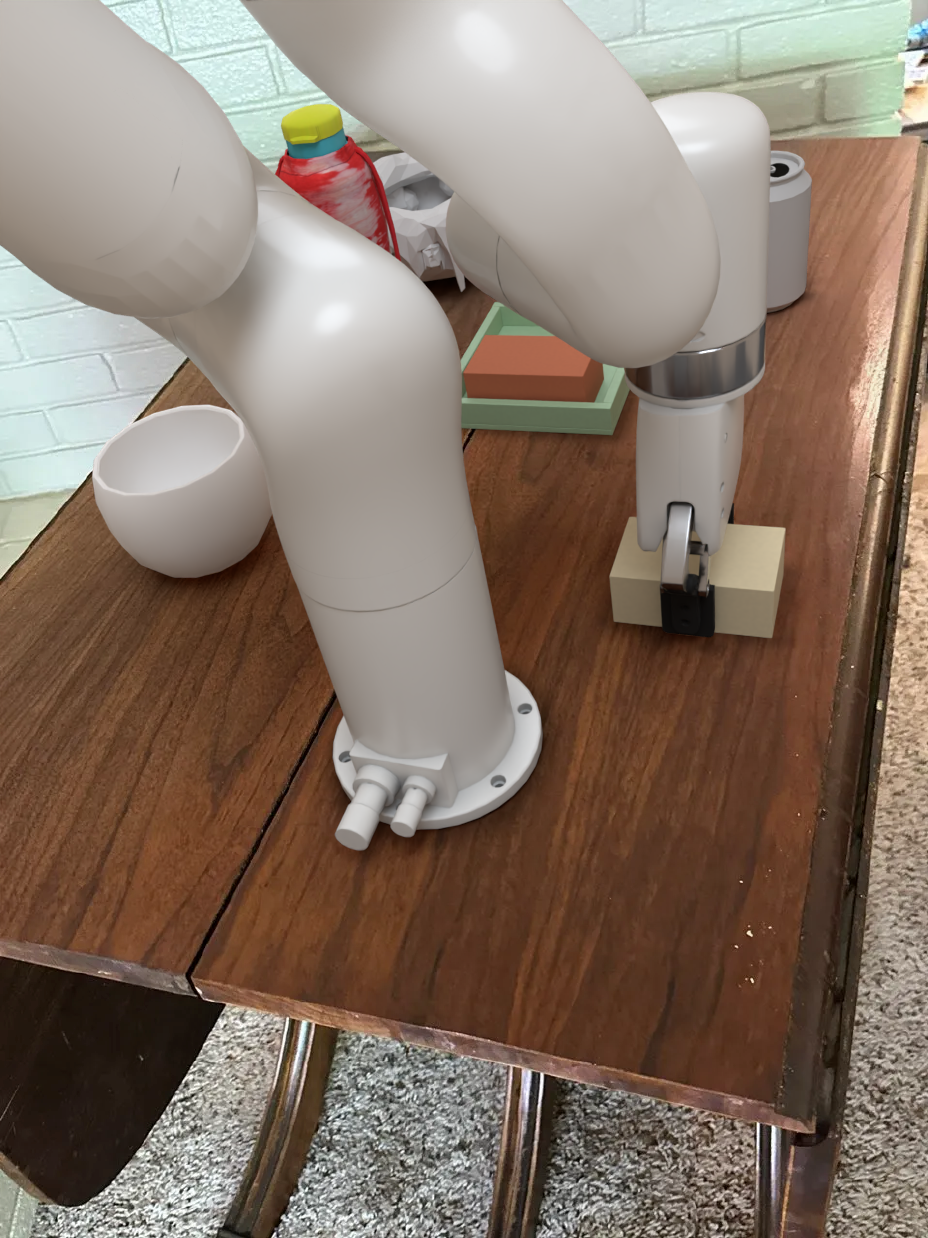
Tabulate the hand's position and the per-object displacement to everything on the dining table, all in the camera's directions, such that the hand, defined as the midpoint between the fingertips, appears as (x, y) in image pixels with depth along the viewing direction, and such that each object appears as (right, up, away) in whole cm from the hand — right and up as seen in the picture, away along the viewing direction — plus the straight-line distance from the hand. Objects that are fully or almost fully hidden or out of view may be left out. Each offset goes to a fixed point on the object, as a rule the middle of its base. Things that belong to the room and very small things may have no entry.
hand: (699, 588), depth 70 cm
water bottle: (-24, +16, +24) cm, 38 cm away
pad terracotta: (-9, +17, +20) cm, 28 cm away
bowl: (-17, +34, +42) cm, 57 cm away
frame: (-8, +19, +23) cm, 31 cm away
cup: (-35, +3, +13) cm, 37 cm away
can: (+12, +27, +27) cm, 40 cm away
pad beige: (0, -1, 0) cm, 1 cm away
